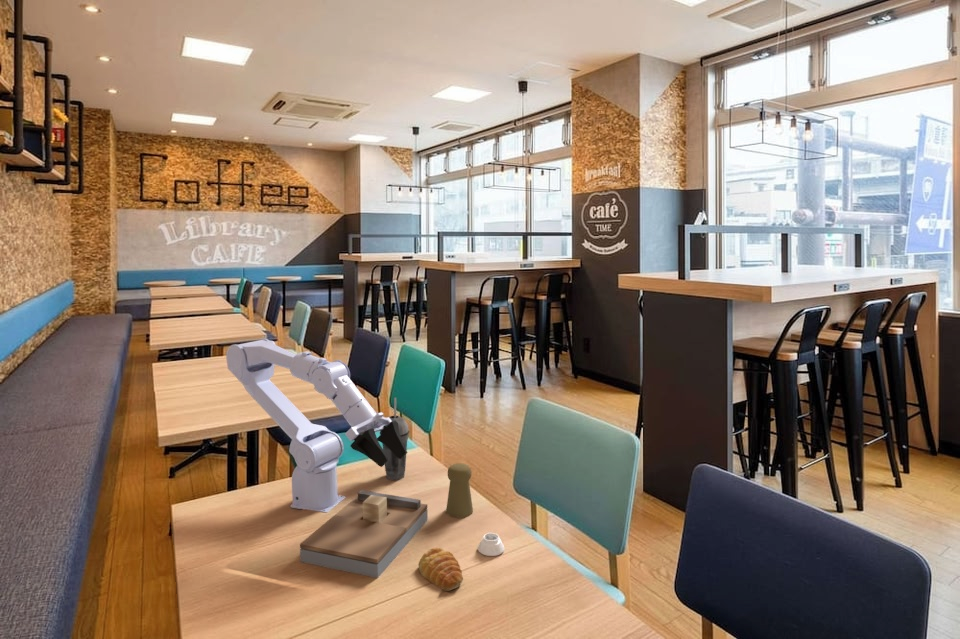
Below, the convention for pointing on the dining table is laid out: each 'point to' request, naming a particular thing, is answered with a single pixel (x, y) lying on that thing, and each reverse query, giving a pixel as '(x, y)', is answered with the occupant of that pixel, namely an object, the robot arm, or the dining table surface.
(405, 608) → the dining table surface
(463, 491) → the olive pawn figure
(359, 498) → the lid
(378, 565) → the shallow grey box
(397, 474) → the beverage cup
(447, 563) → the pastry
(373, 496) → the block
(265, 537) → the dining table surface
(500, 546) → the white upturned bowl
